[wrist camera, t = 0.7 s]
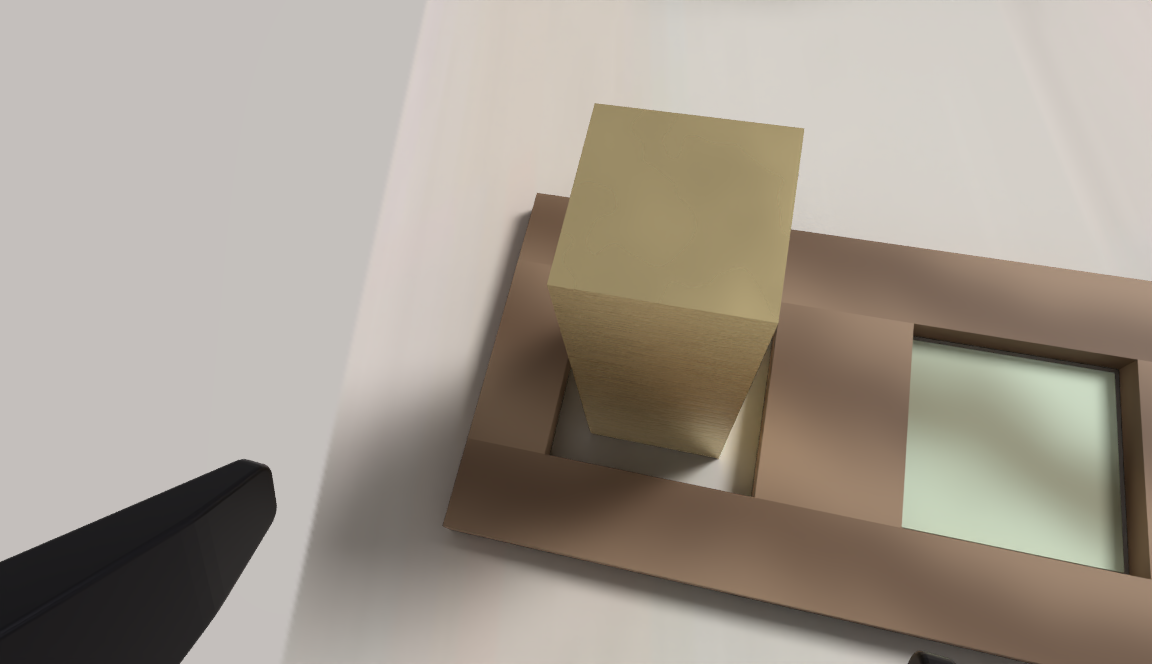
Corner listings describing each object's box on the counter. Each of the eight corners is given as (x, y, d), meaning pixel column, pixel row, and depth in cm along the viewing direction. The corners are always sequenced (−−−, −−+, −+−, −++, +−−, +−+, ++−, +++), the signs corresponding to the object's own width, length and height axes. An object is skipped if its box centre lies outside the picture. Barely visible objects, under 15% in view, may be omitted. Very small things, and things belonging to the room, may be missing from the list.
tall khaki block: (718, 458, 24) (778, 323, 13) (590, 433, 25) (546, 284, 14) (737, 338, 26) (804, 128, 15) (616, 318, 27) (595, 103, 16)
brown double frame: (1240, 712, 20) (1269, 716, 19) (450, 529, 24) (442, 525, 23) (1201, 303, 25) (1222, 291, 24) (540, 206, 29) (537, 193, 28)
